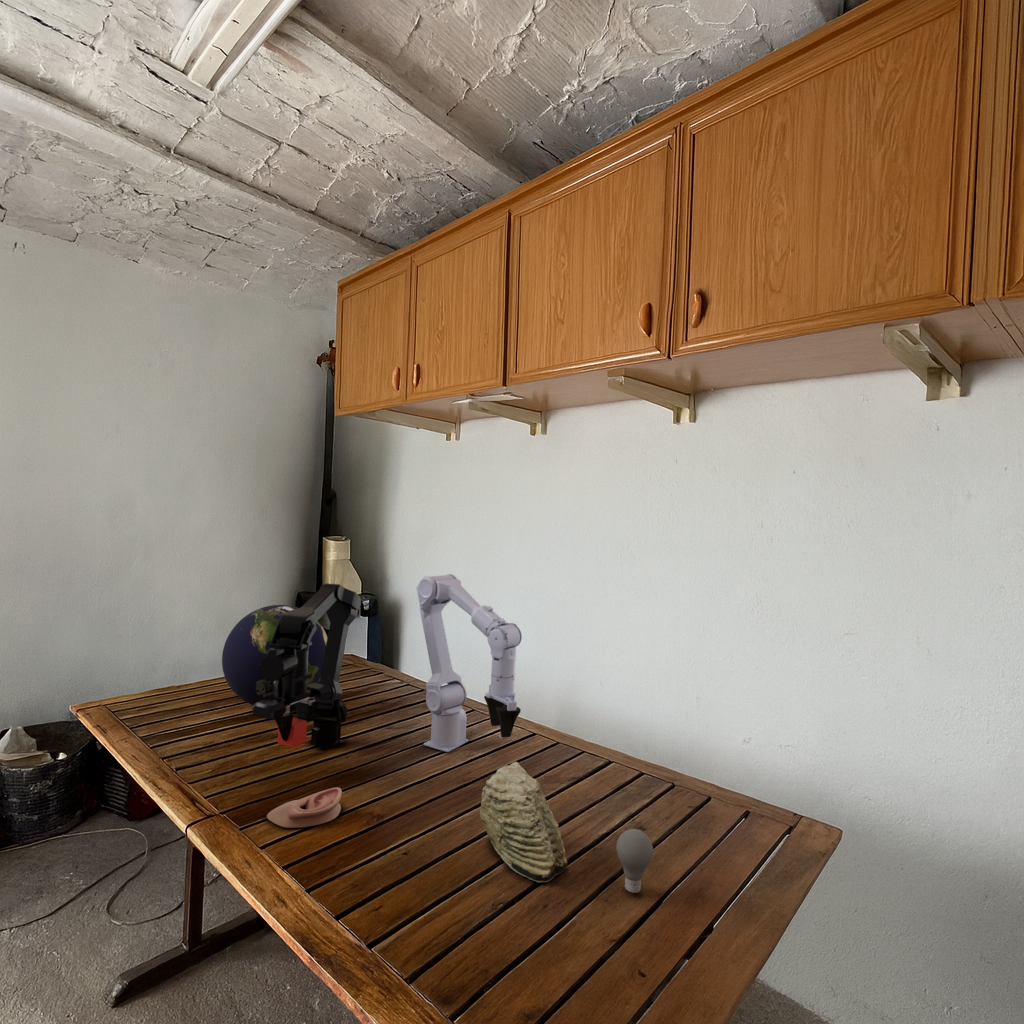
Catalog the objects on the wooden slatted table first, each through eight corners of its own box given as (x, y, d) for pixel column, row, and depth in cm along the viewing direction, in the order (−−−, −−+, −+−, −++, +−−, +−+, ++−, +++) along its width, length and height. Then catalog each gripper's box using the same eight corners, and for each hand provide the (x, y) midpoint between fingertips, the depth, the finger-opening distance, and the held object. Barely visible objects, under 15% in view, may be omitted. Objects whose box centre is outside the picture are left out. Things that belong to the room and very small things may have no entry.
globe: (289, 685, 209) (292, 594, 208) (348, 705, 191) (352, 606, 191) (199, 706, 185) (203, 604, 184) (258, 732, 167) (262, 619, 167)
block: (290, 737, 147) (291, 716, 147) (306, 741, 145) (307, 720, 145) (277, 743, 144) (278, 721, 144) (293, 747, 142) (294, 726, 142)
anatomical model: (258, 803, 122) (290, 777, 133) (257, 823, 122) (290, 796, 133) (321, 812, 119) (349, 786, 130) (320, 833, 119) (348, 805, 130)
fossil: (501, 827, 124) (504, 751, 124) (575, 868, 111) (578, 784, 111) (467, 843, 118) (470, 763, 118) (541, 889, 105) (545, 799, 105)
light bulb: (610, 879, 108) (613, 822, 108) (644, 879, 109) (647, 822, 109) (619, 902, 102) (622, 840, 102) (655, 901, 103) (658, 840, 103)
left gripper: (298, 655, 156) (295, 718, 156) (235, 673, 139) (233, 743, 140) (333, 662, 151) (330, 727, 152) (273, 681, 134) (270, 754, 135)
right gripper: (478, 667, 158) (476, 721, 158) (497, 684, 144) (494, 743, 144) (505, 666, 160) (502, 719, 161) (525, 682, 147) (523, 740, 147)
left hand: (292, 737), depth 145 cm, fingers closed on block, 4 cm apart
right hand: (500, 730), depth 153 cm, fingers open, 7 cm apart
